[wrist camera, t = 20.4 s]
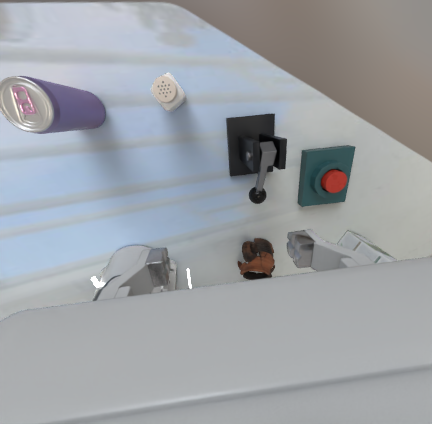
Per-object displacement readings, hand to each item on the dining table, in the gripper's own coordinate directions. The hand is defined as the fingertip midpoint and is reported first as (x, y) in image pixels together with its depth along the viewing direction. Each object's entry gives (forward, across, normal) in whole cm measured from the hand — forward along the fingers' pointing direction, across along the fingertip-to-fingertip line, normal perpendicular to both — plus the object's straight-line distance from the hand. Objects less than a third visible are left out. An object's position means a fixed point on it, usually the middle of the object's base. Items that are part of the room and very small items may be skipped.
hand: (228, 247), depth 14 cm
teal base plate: (+31, -25, +6) cm, 40 cm away
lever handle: (+25, -9, +2) cm, 26 cm away
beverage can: (+31, +20, -11) cm, 39 cm away
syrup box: (+31, -35, +25) cm, 53 cm away
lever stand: (+31, -9, -2) cm, 32 cm away
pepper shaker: (+31, +5, -12) cm, 34 cm away
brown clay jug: (+31, -9, +24) cm, 41 cm away
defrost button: (+28, -25, +6) cm, 38 cm away
